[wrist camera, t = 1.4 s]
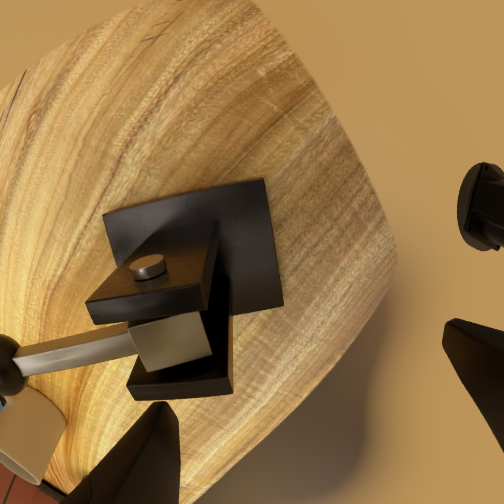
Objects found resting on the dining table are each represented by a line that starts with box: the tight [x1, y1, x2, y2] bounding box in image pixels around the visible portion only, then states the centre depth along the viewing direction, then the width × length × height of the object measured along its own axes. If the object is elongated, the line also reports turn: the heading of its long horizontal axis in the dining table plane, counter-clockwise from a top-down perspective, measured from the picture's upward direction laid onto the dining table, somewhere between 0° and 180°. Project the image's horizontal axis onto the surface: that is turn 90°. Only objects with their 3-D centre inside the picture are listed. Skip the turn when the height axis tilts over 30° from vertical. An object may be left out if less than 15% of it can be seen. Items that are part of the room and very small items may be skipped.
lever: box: [0, 311, 212, 396], centre depth 10 cm, size 12×3×3 cm, turn 100°
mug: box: [0, 386, 66, 485], centre depth 19 cm, size 12×8×11 cm
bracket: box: [85, 177, 284, 401], centre depth 14 cm, size 11×9×11 cm
